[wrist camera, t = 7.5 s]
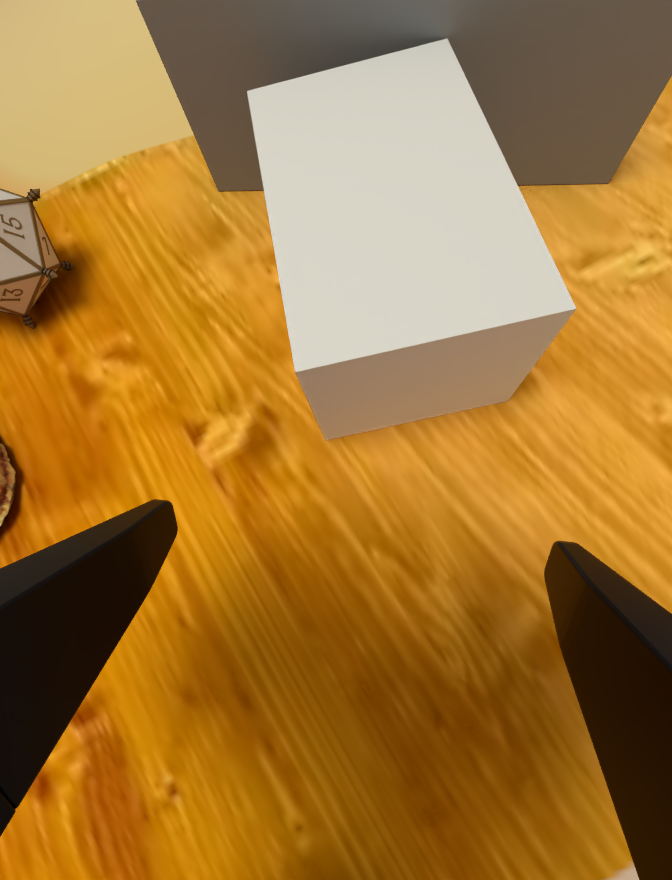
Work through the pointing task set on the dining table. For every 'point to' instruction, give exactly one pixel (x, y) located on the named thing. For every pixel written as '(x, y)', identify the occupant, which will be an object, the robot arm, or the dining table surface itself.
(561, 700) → the dining table surface
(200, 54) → the charcoal board
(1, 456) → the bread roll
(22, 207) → the game die
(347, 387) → the white block
